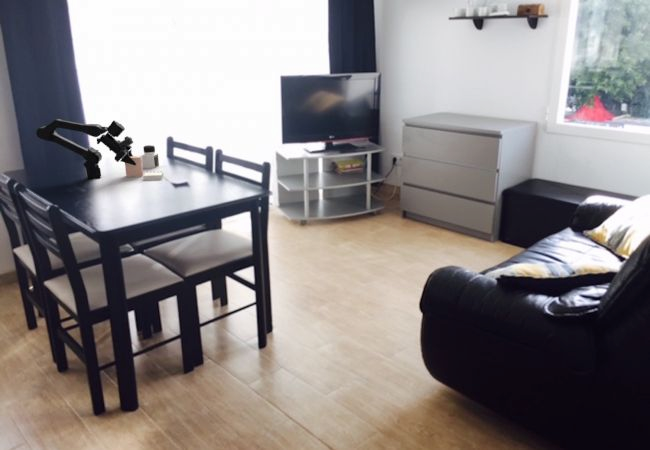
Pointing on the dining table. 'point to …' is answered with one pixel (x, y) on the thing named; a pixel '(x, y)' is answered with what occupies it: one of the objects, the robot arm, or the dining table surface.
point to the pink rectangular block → (134, 167)
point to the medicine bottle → (150, 157)
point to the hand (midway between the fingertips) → (136, 163)
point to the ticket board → (153, 175)
